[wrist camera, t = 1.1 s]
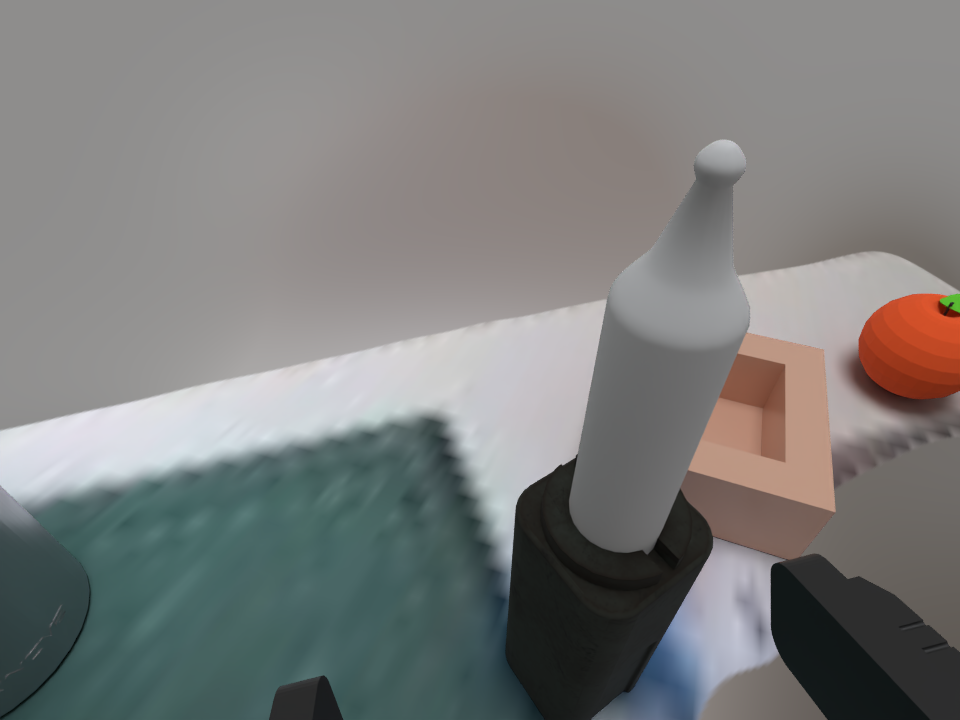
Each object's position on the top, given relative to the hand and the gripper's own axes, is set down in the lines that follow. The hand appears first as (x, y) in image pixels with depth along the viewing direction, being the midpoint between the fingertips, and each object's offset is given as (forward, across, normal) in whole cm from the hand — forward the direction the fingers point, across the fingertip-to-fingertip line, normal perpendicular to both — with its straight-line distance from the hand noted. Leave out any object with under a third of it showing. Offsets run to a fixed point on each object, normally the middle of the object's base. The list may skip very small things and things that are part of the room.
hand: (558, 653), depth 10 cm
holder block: (+23, -13, +12) cm, 29 cm away
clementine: (+26, -30, +12) cm, 41 cm away
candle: (+13, -2, +15) cm, 20 cm away
